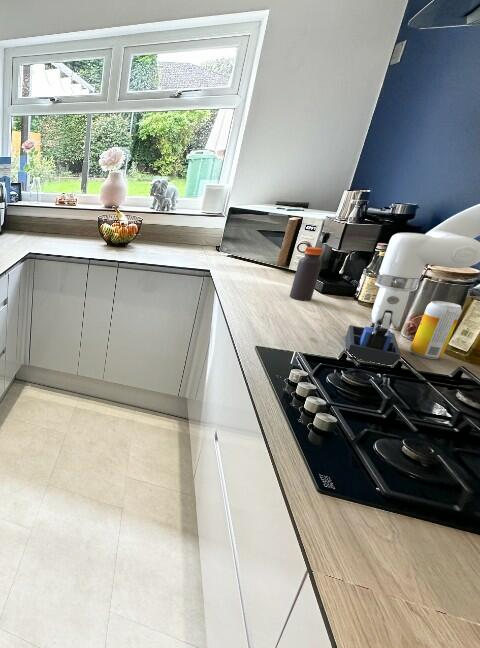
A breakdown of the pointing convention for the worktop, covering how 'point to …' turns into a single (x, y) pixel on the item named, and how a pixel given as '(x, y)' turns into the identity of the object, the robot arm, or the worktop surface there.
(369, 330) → the blue block
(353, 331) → the sorting tray
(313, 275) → the bottle
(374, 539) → the worktop surface
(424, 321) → the beer can
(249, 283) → the worktop surface
